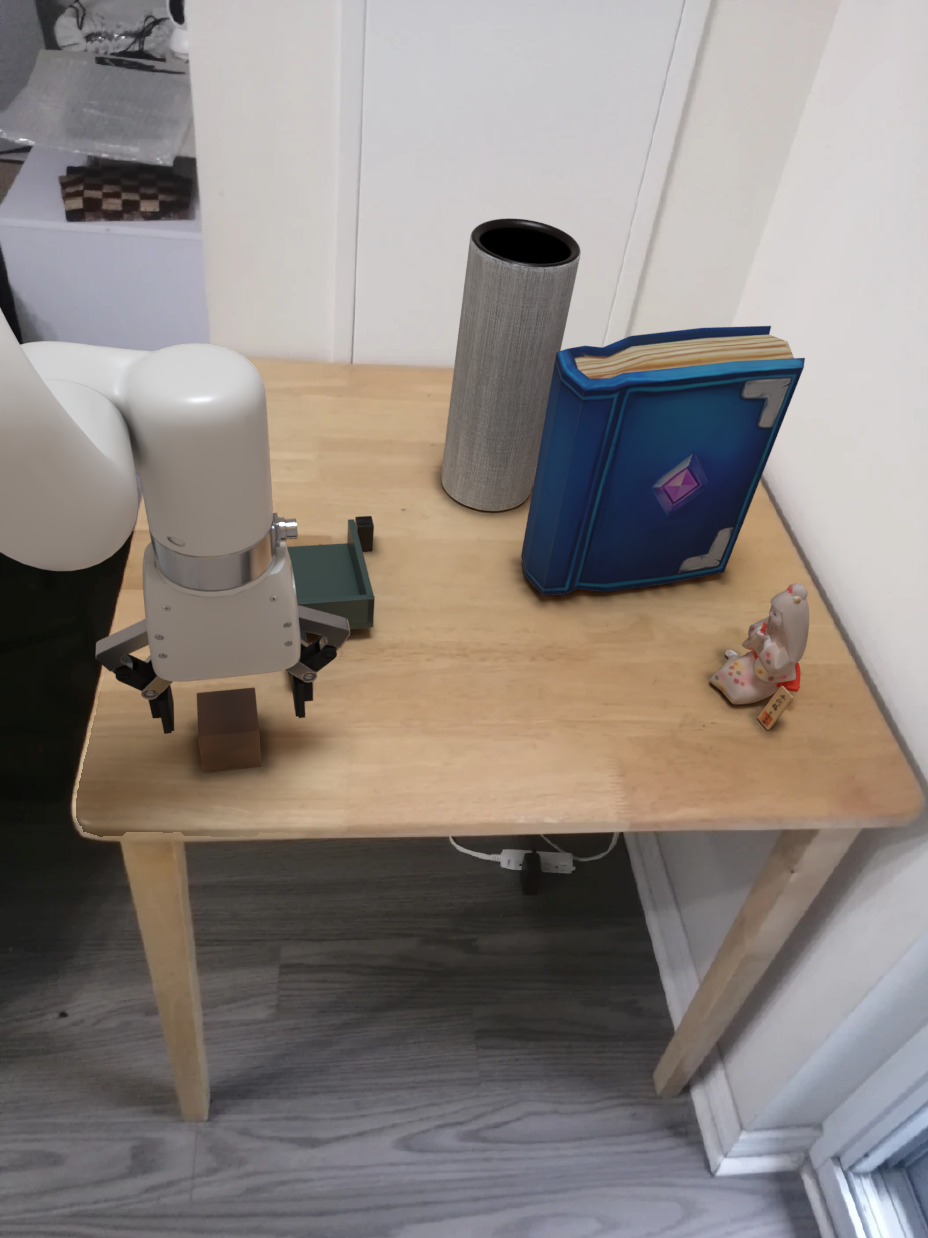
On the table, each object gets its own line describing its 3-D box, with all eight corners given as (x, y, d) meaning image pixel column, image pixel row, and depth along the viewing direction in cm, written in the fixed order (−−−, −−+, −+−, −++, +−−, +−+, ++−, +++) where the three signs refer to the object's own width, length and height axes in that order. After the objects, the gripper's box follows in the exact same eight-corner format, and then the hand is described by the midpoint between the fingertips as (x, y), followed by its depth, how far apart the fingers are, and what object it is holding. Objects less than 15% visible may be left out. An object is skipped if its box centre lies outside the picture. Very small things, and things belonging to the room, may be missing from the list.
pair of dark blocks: (185, 551, 89) (181, 525, 87) (370, 540, 94) (371, 515, 91) (185, 562, 88) (182, 536, 86) (372, 550, 93) (374, 525, 90)
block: (203, 773, 72) (198, 737, 69) (200, 728, 75) (196, 692, 72) (261, 766, 73) (259, 731, 70) (256, 722, 76) (254, 687, 73)
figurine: (692, 659, 87) (748, 557, 80) (750, 657, 90) (809, 558, 82) (741, 732, 81) (807, 628, 73) (803, 727, 83) (872, 627, 76)
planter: (515, 454, 107) (560, 217, 88) (542, 509, 101) (597, 265, 82) (430, 459, 105) (458, 216, 86) (453, 516, 98) (488, 266, 79)
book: (530, 609, 89) (584, 377, 72) (505, 560, 94) (550, 331, 76) (725, 579, 96) (818, 360, 78) (692, 535, 100) (773, 318, 83)
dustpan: (210, 654, 74) (213, 688, 76) (385, 639, 77) (383, 672, 80) (203, 526, 86) (206, 559, 89) (354, 518, 90) (353, 550, 92)
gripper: (342, 494, 64) (341, 663, 76) (72, 512, 60) (116, 686, 72) (359, 569, 59) (355, 736, 71) (64, 593, 55) (113, 766, 67)
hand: (234, 711), depth 71 cm, fingers open, 9 cm apart
